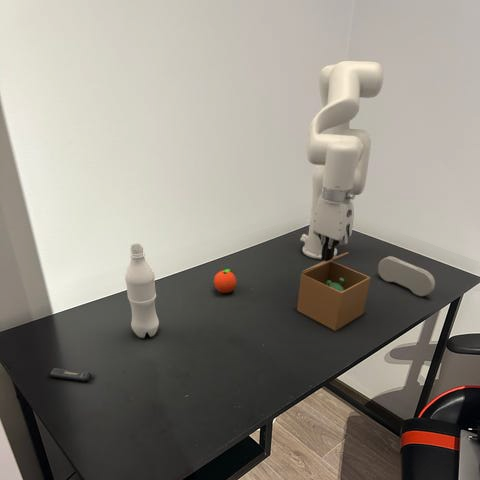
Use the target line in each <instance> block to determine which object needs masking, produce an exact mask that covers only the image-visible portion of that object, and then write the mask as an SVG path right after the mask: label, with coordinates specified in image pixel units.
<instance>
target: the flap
mask: <svg viewBox="0 0 480 480" xmlns="http://www.w3.org/2000/svg"><path fill="white" fill-rule="evenodd" d="M348 254H350V253H349V251H347V252H344V253H341V254H337V255H336V256H335V257H333V258H332V259H331V260H328V261H324V260H322V261H321V262H319V263H317V264H315V265H312V266H310V267H308V268H306V269H304V270H301V273H304V272H307V271H309V270H311V269H314V268H317V267H320V266H322V265H324V264H326V263H328V262H330V261H333V262H334V261H335V260H337V259H340V258H341V257H344V256H345V255H348Z"/></svg>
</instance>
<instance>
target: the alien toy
mask: <svg viewBox="0 0 480 480" xmlns="http://www.w3.org/2000/svg"><path fill="white" fill-rule="evenodd" d="M339 280H340V282H339V284H338V283H334V282H331V281H330V280H328V281H326V285H327V286H329V287H332V288H334V289H336V290H338V291H340V292H342V291H344V289H343V287H342V286H341V285H340V284H341V282H344V279H343V278H339Z"/></svg>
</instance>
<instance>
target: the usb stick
mask: <svg viewBox="0 0 480 480" xmlns="http://www.w3.org/2000/svg"><path fill="white" fill-rule="evenodd" d="M49 376H50V377H51V378H56V379H64V380H72V381H80V382H86V383H87V382H89V381H90V380H91V379H92V373H91V372H89V371H81V370H74V369H66V368H60V367H59V368H58V367H54V368H52V369H51V371H50V372H49Z"/></svg>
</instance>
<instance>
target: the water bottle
mask: <svg viewBox="0 0 480 480" xmlns="http://www.w3.org/2000/svg"><path fill="white" fill-rule="evenodd" d="M129 249H130V252H129V257H130V262H129V264H128V266H127V269H126V272H125V275H124V280H125V284H126V293H127V299H128V301H129V304H130V305H129V306H130V308H131V321H130V326H131V329H132V331H133V333H134V334H135V335H136V336H137V337H138V338H139V339H140V338H141V339H144V338H145V337H146V334H148V336H149V337H150V338H153V337H154V336H155V335H156V333H157V332H158V329H159V325H160V320H159V318H158V317H159V316H158V315H157V311H156V305H155V304H156V298H157V293H156V292H157V291H156V283H155V282H156V280H155V276H156V275H155V272H154V271H153V268H152V267H151V265H150V264H149V263H148V262H147V260H146V257H145V256H146V254H145V250H144V245H143V244H141V243H133V244H131V245H130V246H129Z"/></svg>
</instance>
